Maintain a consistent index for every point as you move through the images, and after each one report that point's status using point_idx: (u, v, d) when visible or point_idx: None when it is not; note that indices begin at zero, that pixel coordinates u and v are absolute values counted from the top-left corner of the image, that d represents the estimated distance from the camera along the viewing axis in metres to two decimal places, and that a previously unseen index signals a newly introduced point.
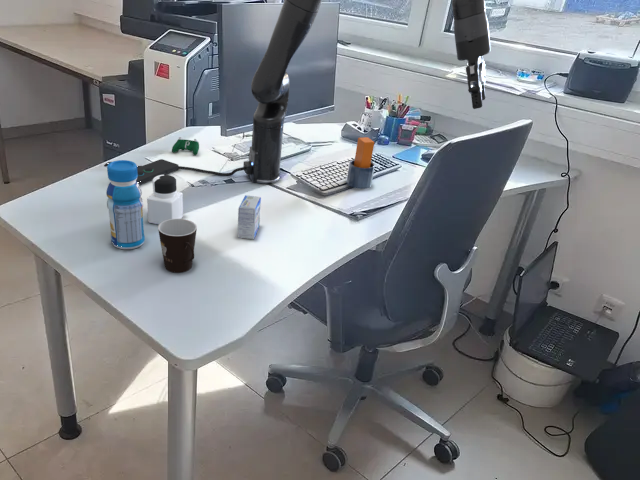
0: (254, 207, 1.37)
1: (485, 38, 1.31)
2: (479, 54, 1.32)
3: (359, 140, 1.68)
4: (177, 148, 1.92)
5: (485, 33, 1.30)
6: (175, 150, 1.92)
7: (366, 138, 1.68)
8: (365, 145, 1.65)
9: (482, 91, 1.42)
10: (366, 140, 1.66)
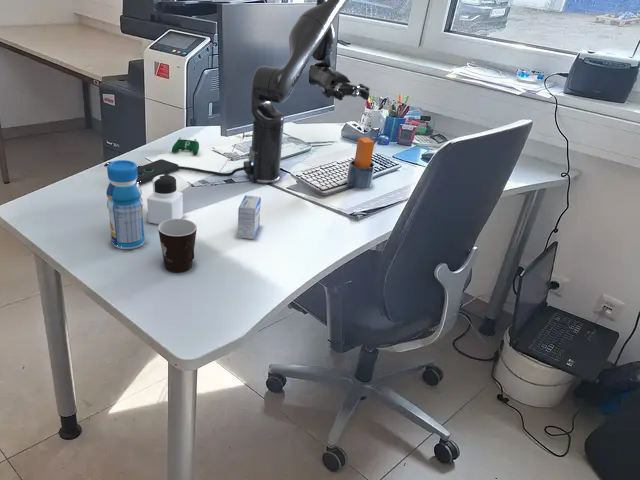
0: (254, 207, 1.37)
1: None
2: None
3: (359, 140, 1.68)
4: (177, 148, 1.92)
5: None
6: (175, 150, 1.92)
7: (366, 138, 1.68)
8: (365, 145, 1.65)
9: None
10: (366, 140, 1.66)
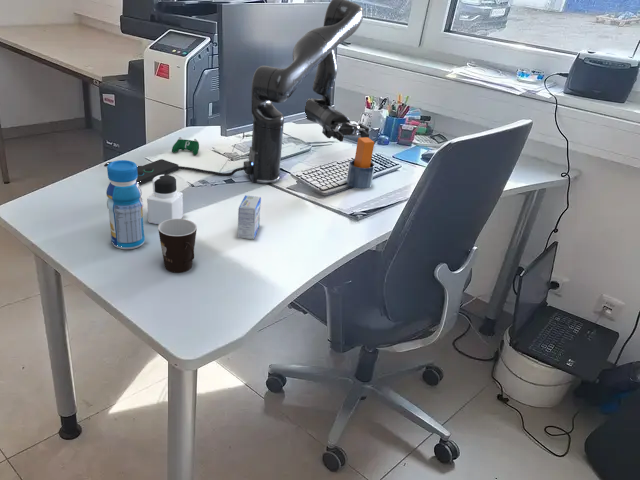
0: (254, 207, 1.37)
1: None
2: None
3: (359, 140, 1.68)
4: (177, 148, 1.92)
5: None
6: (175, 150, 1.92)
7: (366, 138, 1.68)
8: (365, 145, 1.65)
9: None
10: (366, 140, 1.66)
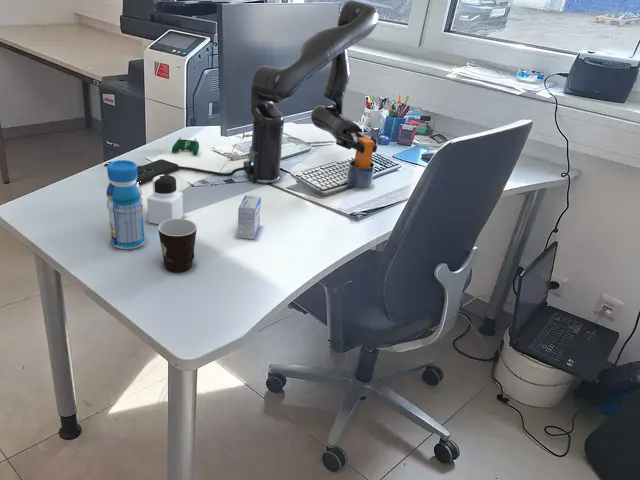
0: (254, 207, 1.37)
1: None
2: None
3: (359, 140, 1.68)
4: (177, 148, 1.92)
5: None
6: (175, 150, 1.92)
7: (366, 138, 1.68)
8: (365, 145, 1.65)
9: None
10: (365, 140, 1.66)
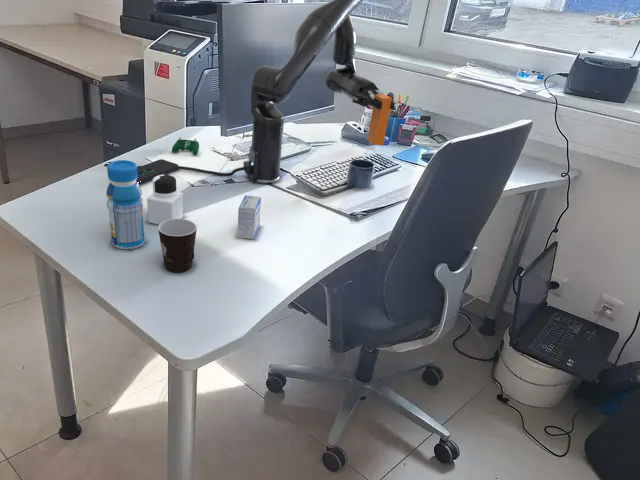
0: (254, 207, 1.37)
1: None
2: None
3: (376, 97, 1.66)
4: (177, 148, 1.92)
5: None
6: (175, 150, 1.92)
7: (383, 95, 1.66)
8: (383, 102, 1.64)
9: None
10: (383, 96, 1.65)
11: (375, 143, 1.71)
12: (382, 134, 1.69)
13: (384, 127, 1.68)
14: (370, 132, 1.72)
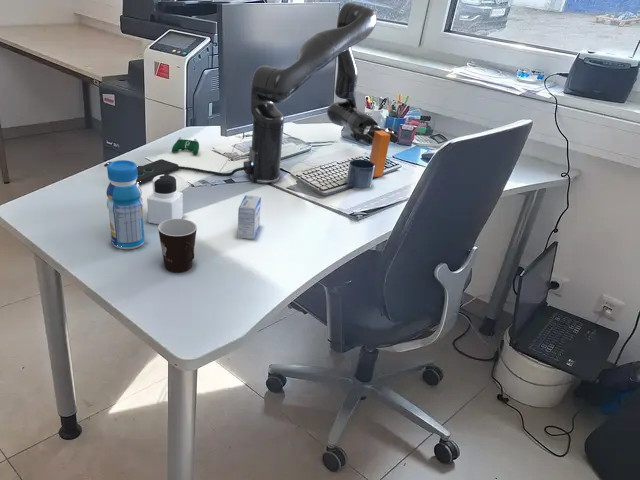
0: (254, 207, 1.37)
1: None
2: None
3: (376, 133, 1.76)
4: (177, 148, 1.92)
5: None
6: (175, 150, 1.92)
7: (382, 131, 1.76)
8: (382, 138, 1.73)
9: None
10: (382, 133, 1.74)
11: (375, 176, 1.80)
12: (381, 168, 1.79)
13: (383, 161, 1.78)
14: None
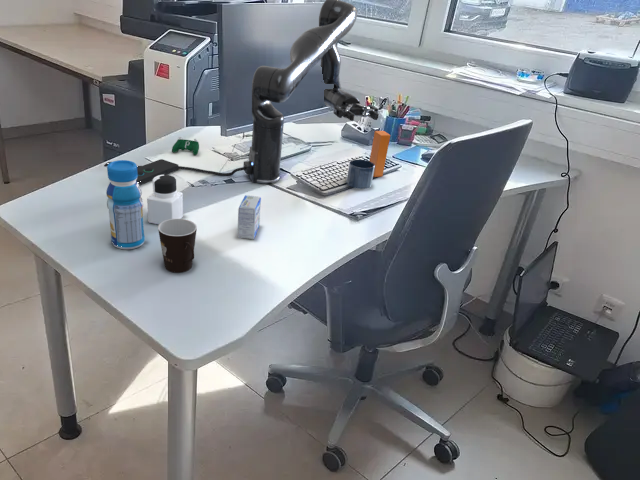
0: (254, 207, 1.37)
1: None
2: None
3: (376, 133, 1.76)
4: (177, 148, 1.92)
5: None
6: (175, 150, 1.92)
7: (382, 131, 1.76)
8: (382, 138, 1.73)
9: None
10: (382, 133, 1.74)
11: (375, 176, 1.80)
12: (381, 168, 1.79)
13: (383, 161, 1.78)
14: None
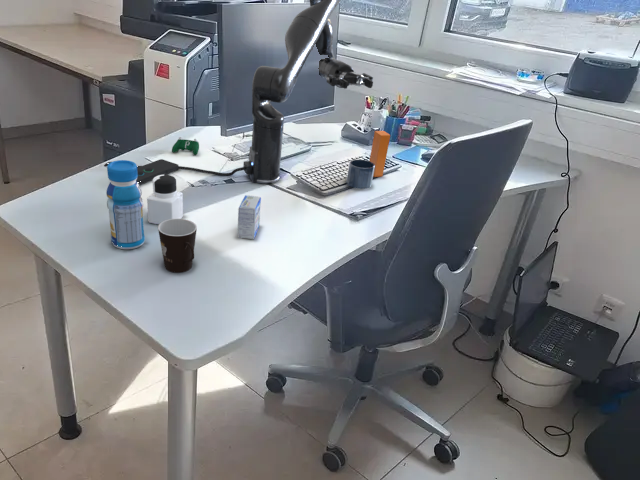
0: (254, 207, 1.37)
1: None
2: None
3: (375, 133, 1.76)
4: (177, 148, 1.92)
5: None
6: (175, 150, 1.92)
7: (382, 131, 1.76)
8: (382, 138, 1.73)
9: None
10: (382, 133, 1.74)
11: (375, 176, 1.80)
12: (381, 168, 1.79)
13: (383, 161, 1.78)
14: None
